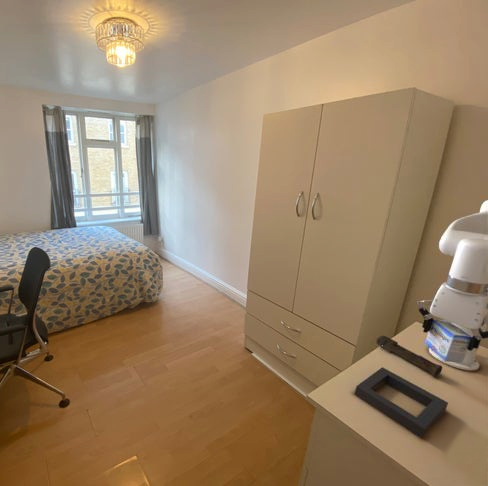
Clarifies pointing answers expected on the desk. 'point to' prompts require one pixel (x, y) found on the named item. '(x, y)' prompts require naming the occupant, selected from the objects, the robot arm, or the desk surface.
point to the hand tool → (409, 355)
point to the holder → (393, 411)
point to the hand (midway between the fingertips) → (447, 339)
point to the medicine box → (448, 341)
